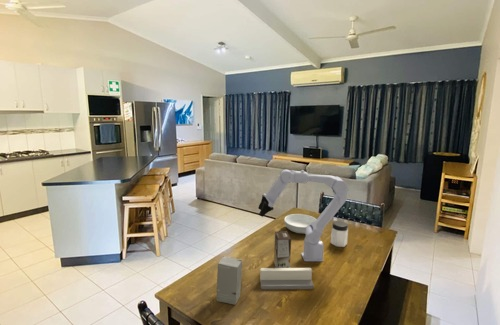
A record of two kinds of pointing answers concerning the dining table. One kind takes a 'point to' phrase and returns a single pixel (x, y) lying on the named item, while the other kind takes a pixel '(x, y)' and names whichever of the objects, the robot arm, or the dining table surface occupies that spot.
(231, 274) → the skincare box
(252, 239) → the dining table surface
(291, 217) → the serving bowl
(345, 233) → the jar
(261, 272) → the board
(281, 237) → the coffee box
